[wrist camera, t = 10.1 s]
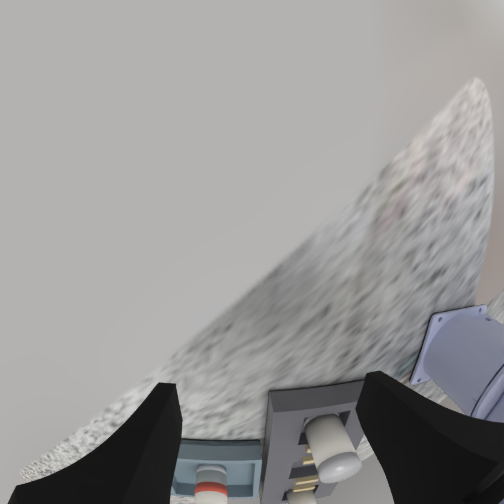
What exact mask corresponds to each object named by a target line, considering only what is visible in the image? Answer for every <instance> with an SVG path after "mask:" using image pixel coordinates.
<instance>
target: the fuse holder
mask: <svg viewBox="0 0 504 504" xmlns="http://www.w3.org/2000/svg"><path fill="white" fill-rule="evenodd" d="M364 381H365V380H363V381H357V382H351V383H345V384H339V385H332V386H325V387H317V388H308V389H298V390H287V391H273V392H269V401H268V412H267V422H266V432H265V442H264V451H263V461H262V469H261V478H260V486H259V496H260V503H261V504H282V503H288V500H287V495H286V491H285V490H286V489H293V492H299V491H305V490H311V489H313V491H314V495H315V498H320V497H325V496H329V495H331V493H332V491H333V490H334V488H335V487H336V485H337V483H338V482H339V481H338V482H334V483H323V482H321V481H320V478H319V475H318V472H317V468H316V465H315V462H314V459H313V456H312V453H311V450H310V447H309V444H308V440H307V437H306V434H305V431H304V428H303V422H304V418H306V417H314V416H321V415H327V414H333V413H338V415H339V417H340V419H341V421H342V423H343V425H344V428H345V430H346V432H347V434H348V436H349V438H350V440H351V442H352V444H353V447H354V449H355V451H356V449H357V447H358V445H359V443H360V441H361V439H362V437H363V435H364V432H363V430H362V428H361V425H360V422H359V419H358V416H357V413H356V410H355V408H356V405H357V402H358V399H359V396H360V393H361V390H362V387H363V384H364Z"/></svg>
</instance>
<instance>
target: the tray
mask: <svg viewBox="0 0 504 504" xmlns="http://www.w3.org/2000/svg"><path fill="white" fill-rule="evenodd" d="M201 463H210V464H221V465H223V466H224V467H226V471H227V488H228V498H227V499H246V498H258V492H259V483H260V475H261V466H262V455H261V448H260V441H195V440H181V444H180V449H179V453H178V458H177V463H176V468H175V473H174V477H173V482H172V487H171V494H172V495H174V496H183V497H194V498H195V496H194V492H195V484H196V468H197V466H198V465H199V464H201Z"/></svg>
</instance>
